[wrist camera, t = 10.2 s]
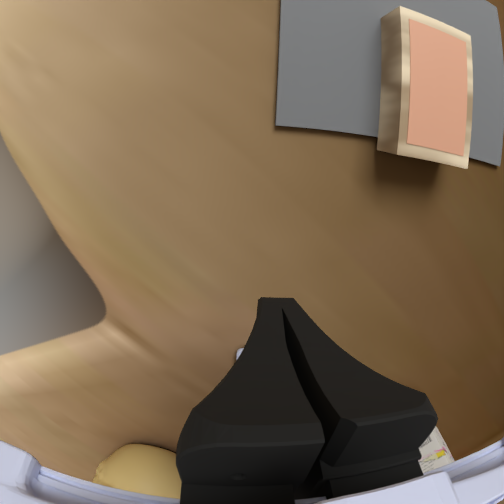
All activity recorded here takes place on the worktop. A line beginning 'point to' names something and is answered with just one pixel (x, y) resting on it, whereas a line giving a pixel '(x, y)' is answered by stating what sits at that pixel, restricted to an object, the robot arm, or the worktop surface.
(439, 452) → the ink cartridge box
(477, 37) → the mat
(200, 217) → the worktop surface
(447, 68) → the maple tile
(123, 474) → the beige lumpy ball
